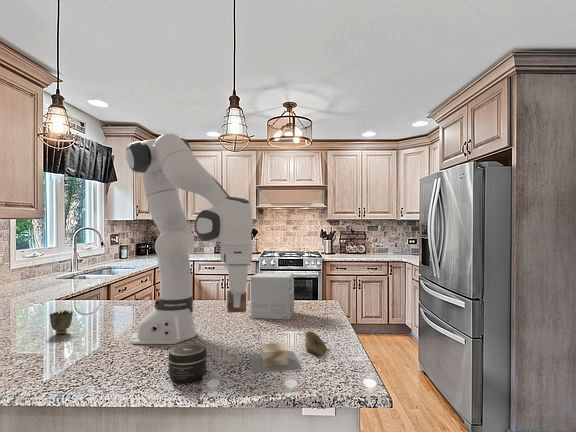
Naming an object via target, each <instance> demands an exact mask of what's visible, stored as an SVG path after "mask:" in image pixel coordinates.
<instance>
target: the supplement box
mask: <svg viewBox="0 0 576 432" xmlns="http://www.w3.org/2000/svg"><path fill="white" fill-rule="evenodd" d="M294 275H295V274H294V272H258V273H256V274H254V275H252V276H250V318H251V319H267V320H268V319H271V320H273V319H274V320H275V319H276V320H291V318H292V316H293V315H294V314H295V288H294V287H295V281H294V278H295V277H294Z"/></svg>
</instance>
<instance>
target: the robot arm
mask: <svg viewBox="0 0 576 432" xmlns="http://www.w3.org/2000/svg"><path fill="white" fill-rule="evenodd" d="M125 158H126V163H127V164H128V166H129V169H131V170H132V171H133V172H134V173H141V174H142V181H143V182H142V183H143V188H144V194H145V198H146V201H147V205H148V209H149V211H150V215H151V219H152V220H153V221H154V224H155V225H156V228H157V229H158V231H159V235H158V236H157V238H156V240H155V242H154V250H155V253H156V258H157V264H158V270H159V279H160V283H159V285H160V287H159V289H160V296H157V297H156V298H155V299H154V309H153V310H151V311H150V312H149V313H148V314H146V316H144V317H143V318H141V320H140V322H139V324H138V328H137V331H136V332H134V333H133V334H132V335H131V337H130V343H131V344H132V345H176V344H178V343H181V342H183V341H187V340H191V339H192V338H194V337H196V336H197V335H198V334H197V330H196V327H195V322H194V316H193V315H194V313H193V311H194V296H193V294H192V293H193V292H192V291H193V289H192V287H193V283H192V280H193V277H192V276H193V275H192V271H191V266H190V265H191V264H190V256H189V255H190V254H191V253H192V252H193V250H194V247H195V238H194V236H193V233H192V230H191V228H190V225H189V222H188V219H187V218H186V215H185V213H184V209H183V207H182V204H181V200H180V196H179V192H178V189H180V190H183V191H186V192H190V193H192V194H196V195H198V196H201V197H203V198H204V199H206V200H207V202H209V203H210V204H211V206H212V207H209V208H208V209H203V210H201V211H200V212H199V213H198V214H197V216H196V218H195V222H194V230H195V233H196V235H197V236H198V238H199V239H200V240H201V241H203V242H206V243H217V242H218V243H220V254H219V255H220V257H219V258H220V262H222V263H224V267H225V268H227V271H228V272H227V273H228V284H229V288H230V290H229V291H231V294H233V306H234V308H239V307H240V300H241V294H244V293H245V292H246V290H247V282H248V273H249V265H250V264H251V262H252V261H253V241H252V232H253V211H252V204H251V202H250V201H249V200H247V199H246V198H243V197H242V198H241V197H236V196H230V195H229V194H228V192H227V191H226V190H225V189H224V187H223V186H222V185H221V184H220V183H219V182H218V180H217V179H216V178H215V177H213V175H212V174H211V173H210V172H208V170H206V168H204V166H203V165H202V164H201V163H200V161H199V160H198V159H197V157H196V156H195V155H194V153H193V152H192V149H191V145H190V143H189V142H188V141H187V140H186V139H185V138H183V137H180V136H179V135H178V134H177V135H176V134H174V133H164V134H162V135H160V136H158V137H157V138H154V139H153V138H152V139H147V140H142V141H139V140H138V141H135V142H131V143H129V144H128V146H127V147H126V148H125Z"/></svg>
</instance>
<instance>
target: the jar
mask: <svg viewBox="0 0 576 432" xmlns="http://www.w3.org/2000/svg"><path fill="white" fill-rule="evenodd" d="M207 355H208V353H207V347H206V346H205V345H204V344H200V343H183V344H179V345H176V346H173V347H172V348H170V349H169V351H168V358H167V359H168V375H169V379H170V381H171V382H172V383H174V384H177V385H190V384H195V383H197V382H200V381H202V380H203V377H204V376H205V375H206V373H207V368H208V367H207V366H208V365H207V364H208V363H207V361H208V360H207V357H208V356H207Z"/></svg>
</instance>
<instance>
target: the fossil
mask: <svg viewBox="0 0 576 432" xmlns="http://www.w3.org/2000/svg"><path fill="white" fill-rule="evenodd" d="M304 338H305V340H304V341H305V343H304V345H305V346H304V348H305V351H306V352H307V353H311V354H315V355H317V356H320V357H324V356H325V354H326V352H327V350H328V348H327V345H326V344H325V342H324V341H323V339H321V337H320V336H319V335H318V334H317V333H315V332H314V331H310V330H309V331H306V332H305V334H304Z"/></svg>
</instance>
